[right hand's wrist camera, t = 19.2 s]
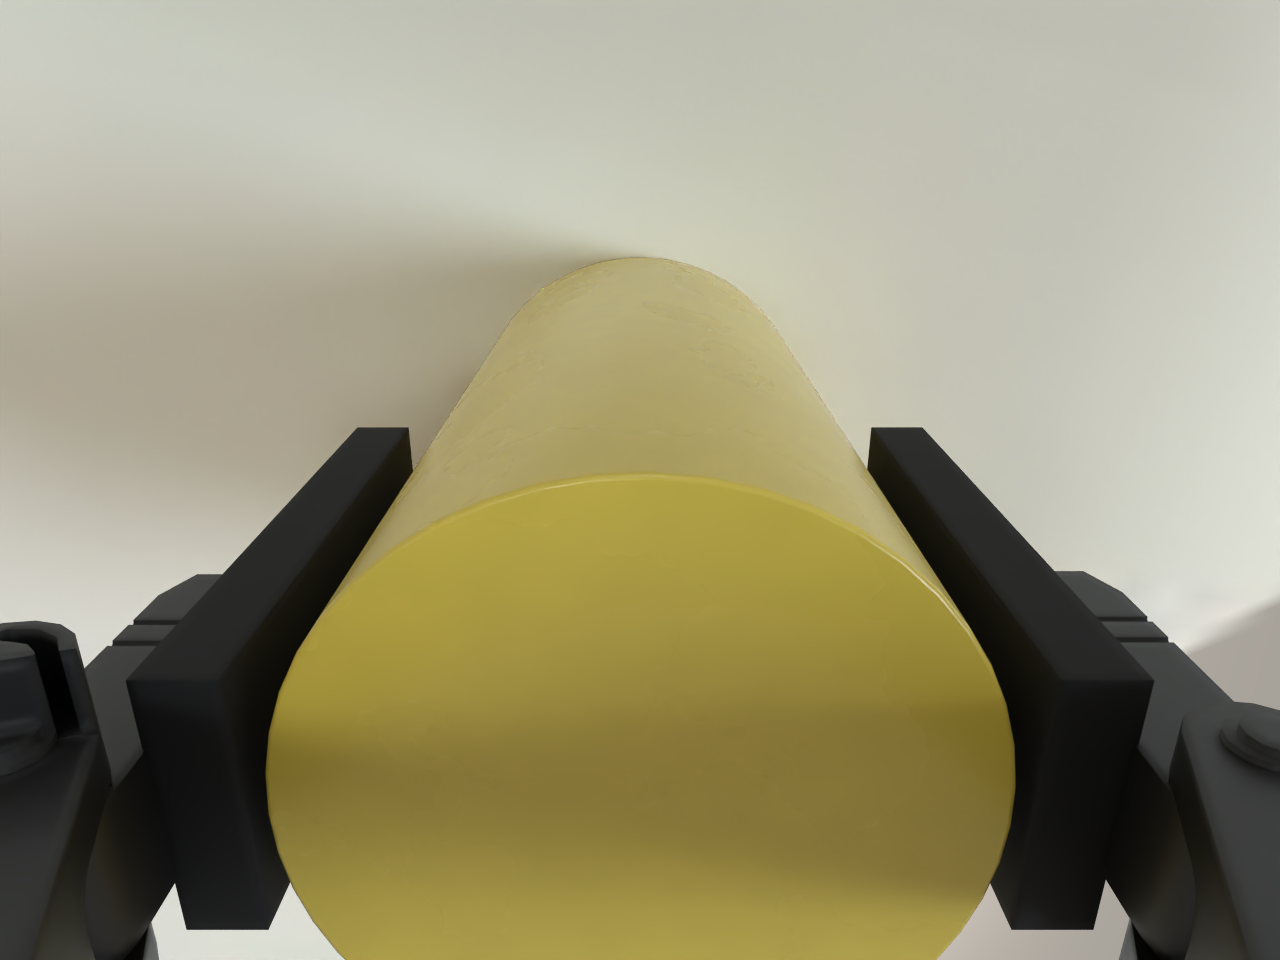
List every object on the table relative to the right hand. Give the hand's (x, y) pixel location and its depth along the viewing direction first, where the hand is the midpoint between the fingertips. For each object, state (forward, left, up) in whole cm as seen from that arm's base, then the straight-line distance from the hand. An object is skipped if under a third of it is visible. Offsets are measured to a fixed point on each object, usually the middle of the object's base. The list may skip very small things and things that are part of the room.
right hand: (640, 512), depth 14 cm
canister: (0, 0, -5) cm, 5 cm away
